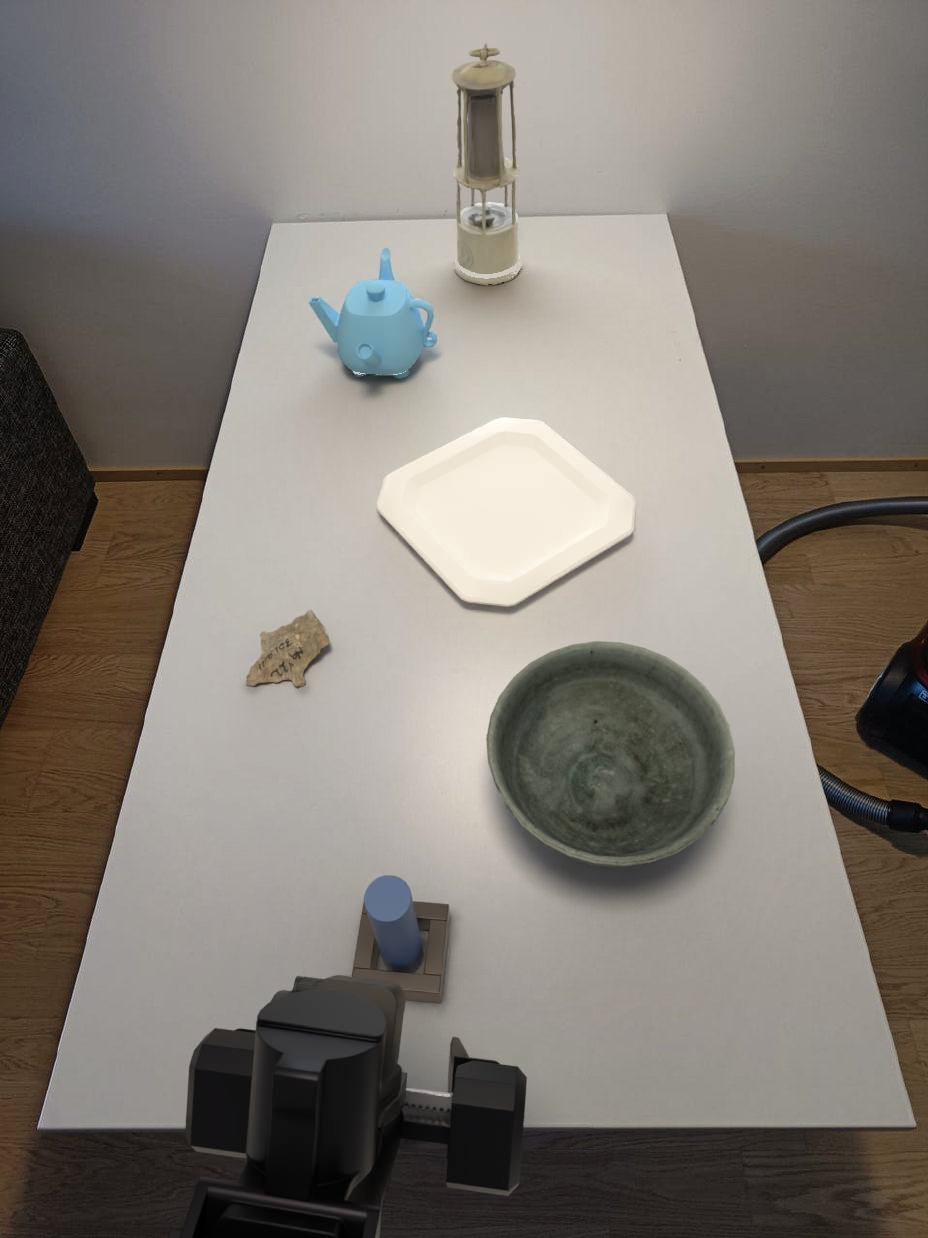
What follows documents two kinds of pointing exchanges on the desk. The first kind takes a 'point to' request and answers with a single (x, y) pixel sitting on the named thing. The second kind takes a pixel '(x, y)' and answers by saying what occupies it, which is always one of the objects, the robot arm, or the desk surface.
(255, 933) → the desk surface
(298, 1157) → the robot arm
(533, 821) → the bowl
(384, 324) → the teapot
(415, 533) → the plate
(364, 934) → the frame
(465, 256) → the lamp
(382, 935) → the blue tall cylinder
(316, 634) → the artifact
